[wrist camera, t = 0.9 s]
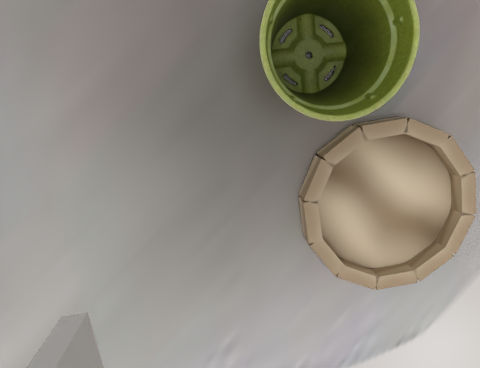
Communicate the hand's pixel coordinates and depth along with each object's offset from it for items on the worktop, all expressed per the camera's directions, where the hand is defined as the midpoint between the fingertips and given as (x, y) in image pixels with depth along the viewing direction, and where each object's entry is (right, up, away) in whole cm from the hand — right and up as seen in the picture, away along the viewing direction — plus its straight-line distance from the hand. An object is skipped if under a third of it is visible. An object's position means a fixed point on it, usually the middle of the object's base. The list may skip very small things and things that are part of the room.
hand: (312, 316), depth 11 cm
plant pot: (+3, +14, +19) cm, 24 cm away
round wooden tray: (+10, +2, +22) cm, 25 cm away
